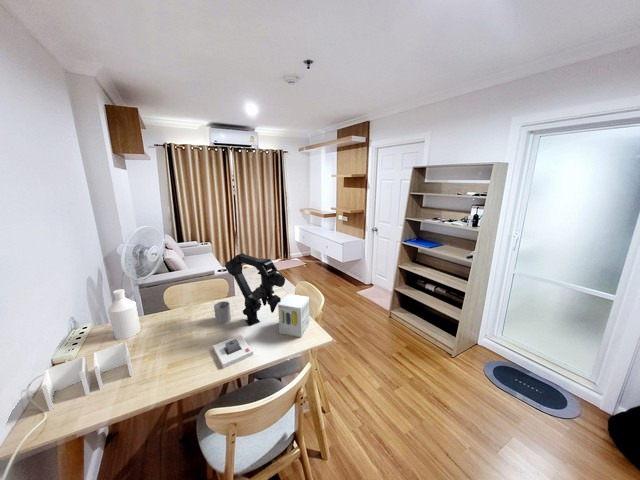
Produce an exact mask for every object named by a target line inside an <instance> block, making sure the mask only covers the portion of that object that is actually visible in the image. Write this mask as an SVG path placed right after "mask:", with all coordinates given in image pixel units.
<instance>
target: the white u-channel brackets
mask: <svg viewBox="0 0 640 480" xmlns="http://www.w3.org/2000/svg"><path fill="white" fill-rule="evenodd" d="M124 364H125V365H127V369H128V373H129V377H130V376H132V377H134V376H133V375H134V370H133V365H132V362H131V357H130V351H129V349H128V344H127V341H124V342H121V343H118V344H115V345H112V346H109V347H106V348H104V349H100V350H98V351H94V352H93V370H94V373H95V377H96V380H97V383H98V388H99V389H100V388H103V387H104V384H103V381H102V377H101V375H102V374H103V373H102V372H105V371H107V370H110V369H112V370H114V369H113V368H115V369H117V368H116V367H118V368H119V366H120V367H122V365H123V366H125V365H124ZM88 369H89V368H88V365H87V362H86V359H85V356H84V355H83V356H80V357H77V358H75V359H71V360H69V361H64V362H62V363H59V364H57V365H54V366H50V367H48V368H45V370H44V374H43V377H42V382H41V389H42V390H41V391H42V393H43V396H44V399H45V401H46V405H47V407H48V410H49V411H50V409H53V408H54V409H55V407H54V403H52V401H53V402H54V397H53V395H55V392H54V391H56V392H58V391H60V390H59V389H61V388H63V389H65V388H64V387H66V388H68V387H67V386H69V385H71V386H73V385H72V384H74V385H76V384H78V383H77V382H79V383H82V387H83V390H84V394H85V395H86V394H88V393H90V394H91V376H90V372H89V370H88ZM110 371H111V370H110ZM107 372H108V371H107ZM100 373H102V374H101V375H100ZM105 373H106V372H105ZM80 381H81V382H80ZM75 383H76V384H75ZM69 387H70V386H69ZM103 389H104V388H103ZM57 390H58V391H57ZM61 390H62V389H61ZM54 409H53V410H54Z"/></svg>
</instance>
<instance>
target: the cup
mask: <svg viewBox="0 0 640 480" xmlns="http://www.w3.org/2000/svg"><path fill="white" fill-rule="evenodd" d="M213 309H214V310H213V311H214V317H215V318H214V319H215V323H216V324H218V325H223V324H227V323H230V321H231V320H232V317H231V306H230V302H229V301H219V302H216V303H215V304H214V305H213Z"/></svg>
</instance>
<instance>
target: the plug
mask: <svg viewBox="0 0 640 480" xmlns="http://www.w3.org/2000/svg"><path fill="white" fill-rule="evenodd" d="M225 345H226V352H227V353H228V355H229V354H232V353H234V352H236V351H239V350H240V347H239V343H238V341H237V340H236V339H234V340H232V341H229V342H227V343H225Z"/></svg>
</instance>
